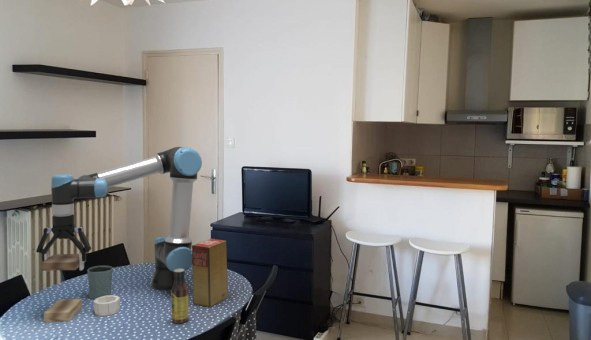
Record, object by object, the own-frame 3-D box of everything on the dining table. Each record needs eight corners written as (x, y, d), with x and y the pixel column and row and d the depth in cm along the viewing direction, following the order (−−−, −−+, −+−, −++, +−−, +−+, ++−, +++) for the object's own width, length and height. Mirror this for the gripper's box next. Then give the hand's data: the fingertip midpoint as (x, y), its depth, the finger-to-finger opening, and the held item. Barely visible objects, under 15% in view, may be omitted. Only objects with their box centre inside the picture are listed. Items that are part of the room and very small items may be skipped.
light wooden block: (82, 307, 186) (81, 298, 186) (69, 321, 172) (68, 312, 172) (59, 307, 185) (58, 299, 185) (44, 322, 171) (43, 313, 171)
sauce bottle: (173, 317, 176) (172, 267, 174) (189, 317, 176) (189, 266, 175) (170, 324, 169) (169, 272, 168) (187, 324, 170) (186, 272, 168)
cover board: (85, 261, 183) (85, 253, 183) (75, 269, 171) (75, 262, 171) (54, 261, 182) (54, 254, 182) (41, 270, 170) (41, 262, 170)
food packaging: (211, 293, 202) (210, 238, 200) (228, 297, 198) (228, 240, 195) (191, 303, 190) (190, 244, 188) (210, 307, 186) (209, 247, 184)
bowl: (121, 306, 186) (121, 294, 186) (115, 315, 177) (115, 303, 177) (99, 307, 185) (98, 295, 185) (91, 316, 176) (91, 304, 176)
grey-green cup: (84, 295, 199) (83, 268, 198) (107, 289, 206) (106, 263, 205) (94, 301, 192) (93, 273, 191) (117, 295, 199) (116, 268, 198)
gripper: (99, 212, 180) (100, 266, 182) (34, 213, 177) (35, 267, 179) (93, 216, 173) (94, 271, 175) (25, 216, 170) (26, 273, 172)
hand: (64, 269), depth 177 cm, fingers closed on cover board, 12 cm apart
